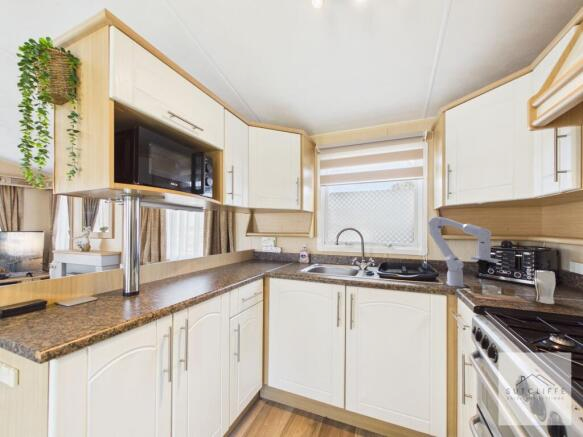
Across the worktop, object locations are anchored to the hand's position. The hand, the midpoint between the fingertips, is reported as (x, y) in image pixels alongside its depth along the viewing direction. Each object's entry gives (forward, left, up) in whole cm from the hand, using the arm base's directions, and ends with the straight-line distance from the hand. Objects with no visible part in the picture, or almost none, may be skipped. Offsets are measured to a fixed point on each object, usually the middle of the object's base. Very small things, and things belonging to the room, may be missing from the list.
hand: (484, 273), depth 136 cm
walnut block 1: (+8, -7, -9) cm, 14 cm away
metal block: (+8, 0, -9) cm, 12 cm away
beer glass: (+16, +18, -10) cm, 26 cm away
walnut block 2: (+8, +7, -9) cm, 14 cm away
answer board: (+10, 0, -9) cm, 14 cm away
